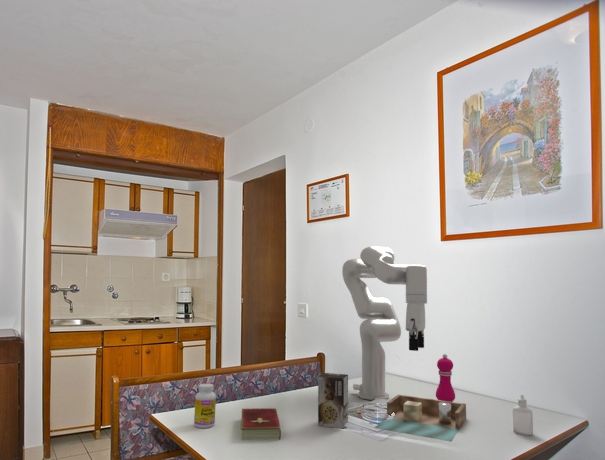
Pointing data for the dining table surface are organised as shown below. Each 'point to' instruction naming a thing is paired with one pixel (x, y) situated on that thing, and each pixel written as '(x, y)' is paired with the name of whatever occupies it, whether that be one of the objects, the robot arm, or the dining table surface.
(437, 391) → the pepper mill
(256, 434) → the hardcover book
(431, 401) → the cubby
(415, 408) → the birch block
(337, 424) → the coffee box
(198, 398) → the supplement bottle
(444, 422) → the steel peg
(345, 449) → the dining table surface
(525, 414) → the eye dropper bottle
